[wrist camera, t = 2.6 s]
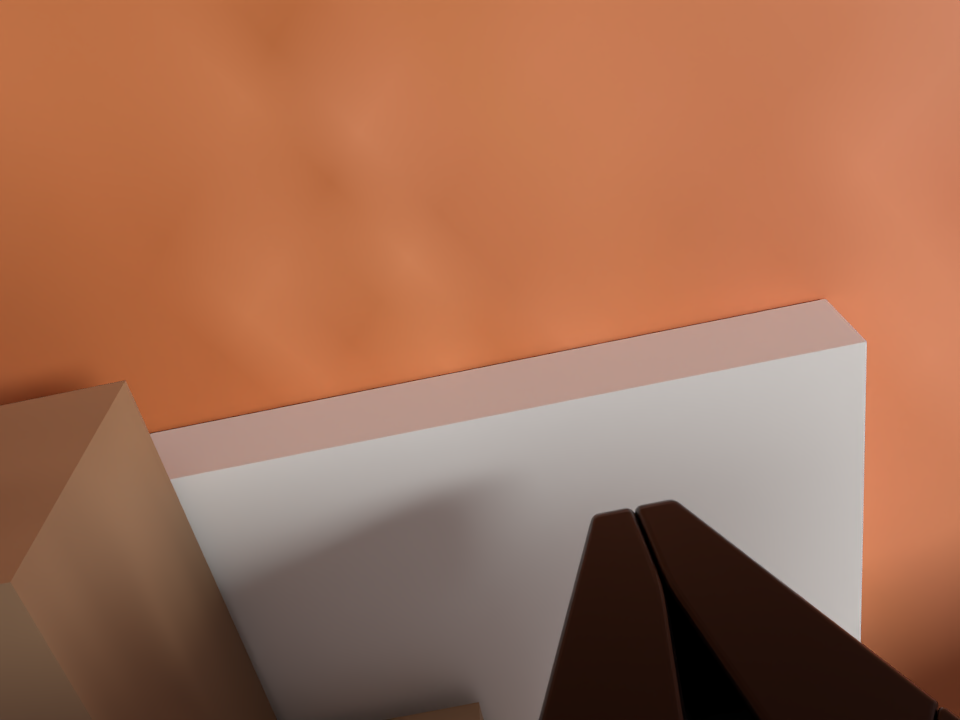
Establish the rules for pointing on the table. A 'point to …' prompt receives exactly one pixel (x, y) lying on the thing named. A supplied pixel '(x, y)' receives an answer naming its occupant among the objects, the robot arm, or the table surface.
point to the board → (517, 504)
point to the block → (111, 577)
